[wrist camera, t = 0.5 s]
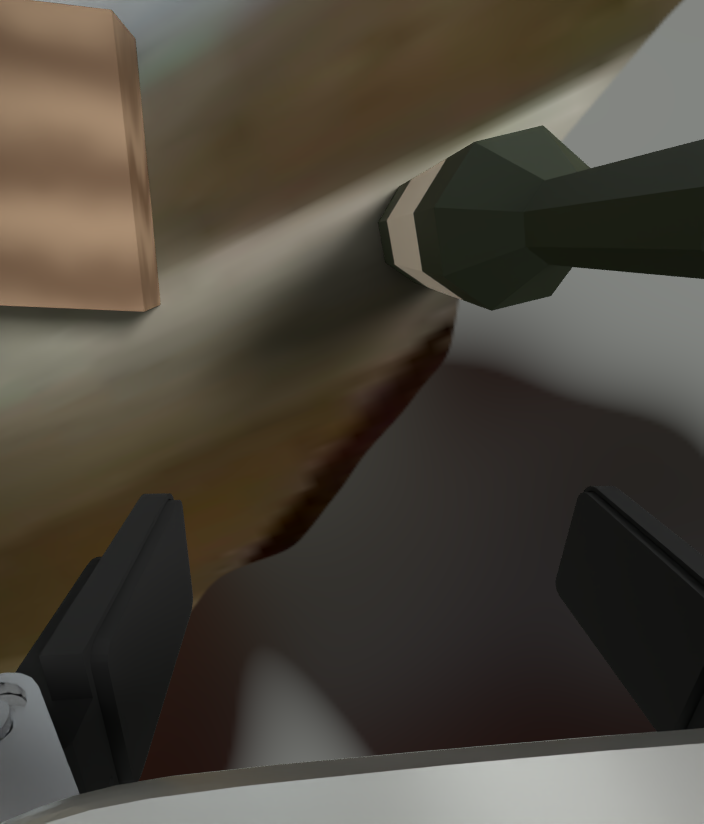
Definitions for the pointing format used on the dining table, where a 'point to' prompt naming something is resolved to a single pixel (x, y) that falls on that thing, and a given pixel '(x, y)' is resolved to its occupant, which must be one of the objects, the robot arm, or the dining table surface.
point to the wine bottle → (544, 218)
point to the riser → (72, 162)
